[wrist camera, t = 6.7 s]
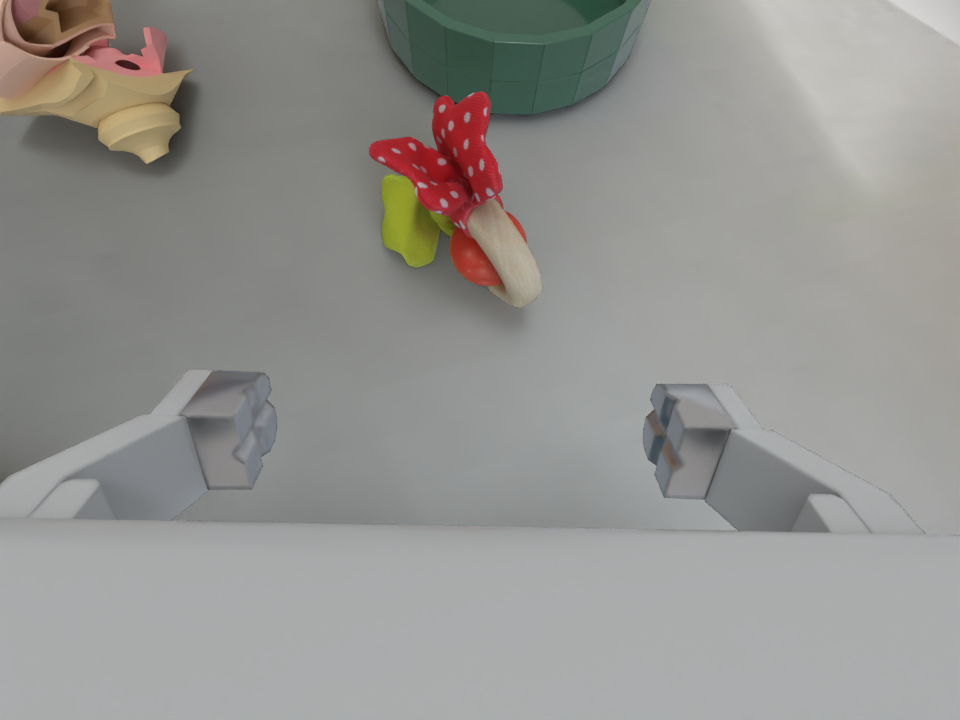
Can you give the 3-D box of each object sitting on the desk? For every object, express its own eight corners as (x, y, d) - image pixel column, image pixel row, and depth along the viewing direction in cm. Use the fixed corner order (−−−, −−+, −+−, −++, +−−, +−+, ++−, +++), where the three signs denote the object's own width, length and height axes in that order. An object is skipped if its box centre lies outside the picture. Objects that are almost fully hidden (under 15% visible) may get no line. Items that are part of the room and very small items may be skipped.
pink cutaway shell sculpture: (256, 129, 30) (110, 150, 22) (143, 187, 34) (-14, 223, 26) (166, -55, 27) (-42, -108, 19) (54, 32, 31) (-157, 19, 23)
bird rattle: (537, 263, 31) (435, 129, 28) (657, 234, 20) (510, 17, 18) (458, 336, 30) (345, 202, 27) (540, 345, 19) (367, 129, 17)
